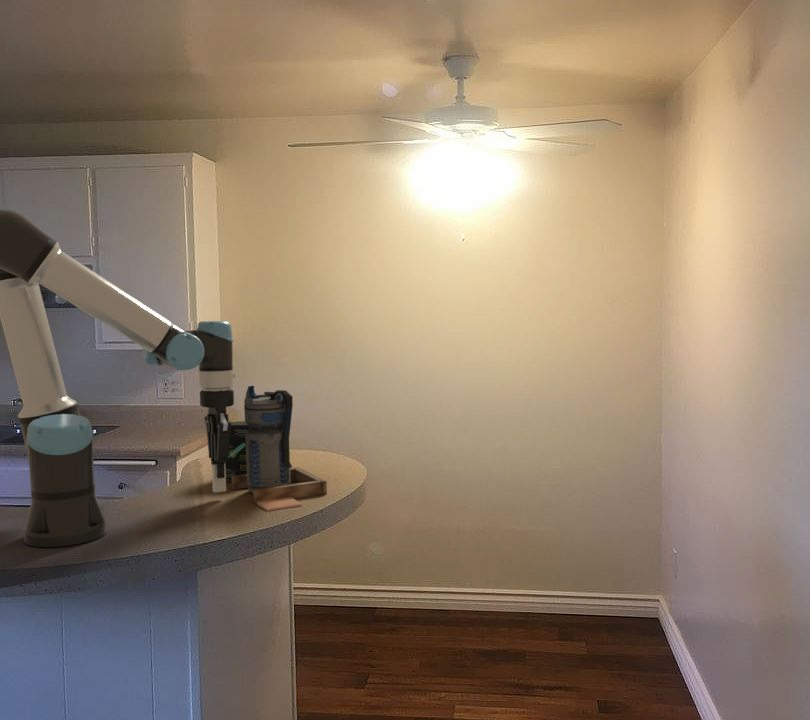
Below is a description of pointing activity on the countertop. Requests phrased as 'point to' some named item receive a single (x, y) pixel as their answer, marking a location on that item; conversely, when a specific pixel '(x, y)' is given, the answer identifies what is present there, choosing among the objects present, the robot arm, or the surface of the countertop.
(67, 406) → the robot arm
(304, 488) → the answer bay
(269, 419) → the beverage bottle
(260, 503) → the tile
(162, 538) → the countertop surface
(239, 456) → the tampon box
